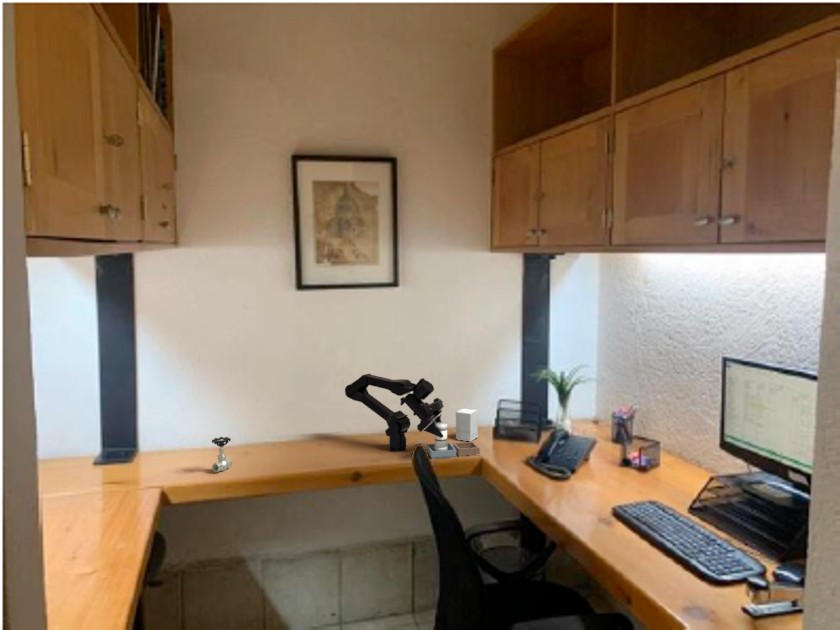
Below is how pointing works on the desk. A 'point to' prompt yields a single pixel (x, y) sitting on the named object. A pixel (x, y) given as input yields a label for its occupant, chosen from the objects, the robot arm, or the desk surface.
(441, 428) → the cartridge fuse
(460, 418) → the supplement box
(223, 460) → the valve
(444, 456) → the parts tray
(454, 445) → the brown square tray
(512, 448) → the desk surface
